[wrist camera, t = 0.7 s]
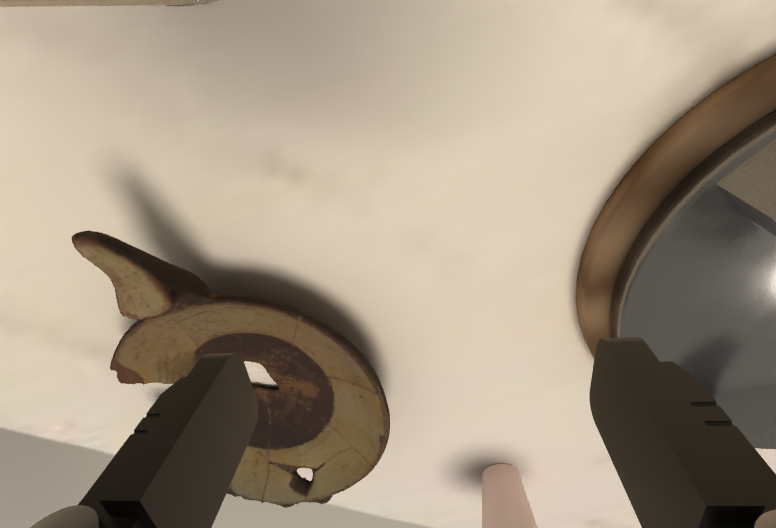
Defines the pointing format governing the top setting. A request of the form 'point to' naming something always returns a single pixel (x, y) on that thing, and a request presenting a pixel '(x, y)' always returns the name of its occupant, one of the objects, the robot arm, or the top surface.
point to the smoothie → (504, 499)
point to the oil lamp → (261, 345)
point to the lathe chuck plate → (713, 280)
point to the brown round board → (663, 186)
